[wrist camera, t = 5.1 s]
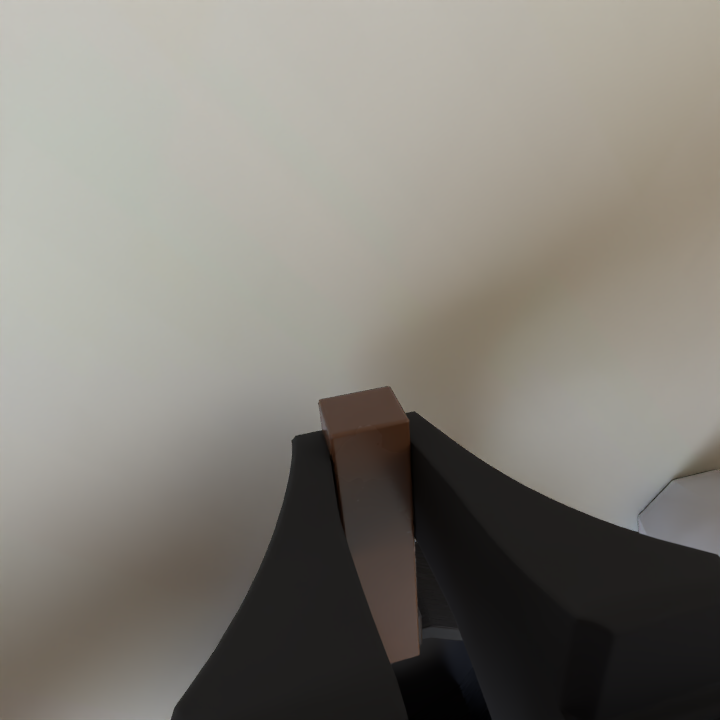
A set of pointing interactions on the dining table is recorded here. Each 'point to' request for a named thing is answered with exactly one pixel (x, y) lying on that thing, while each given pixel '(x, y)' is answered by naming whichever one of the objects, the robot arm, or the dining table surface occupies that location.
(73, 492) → the dining table surface
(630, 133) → the dining table surface
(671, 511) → the salt shaker
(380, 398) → the pan
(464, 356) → the dining table surface
